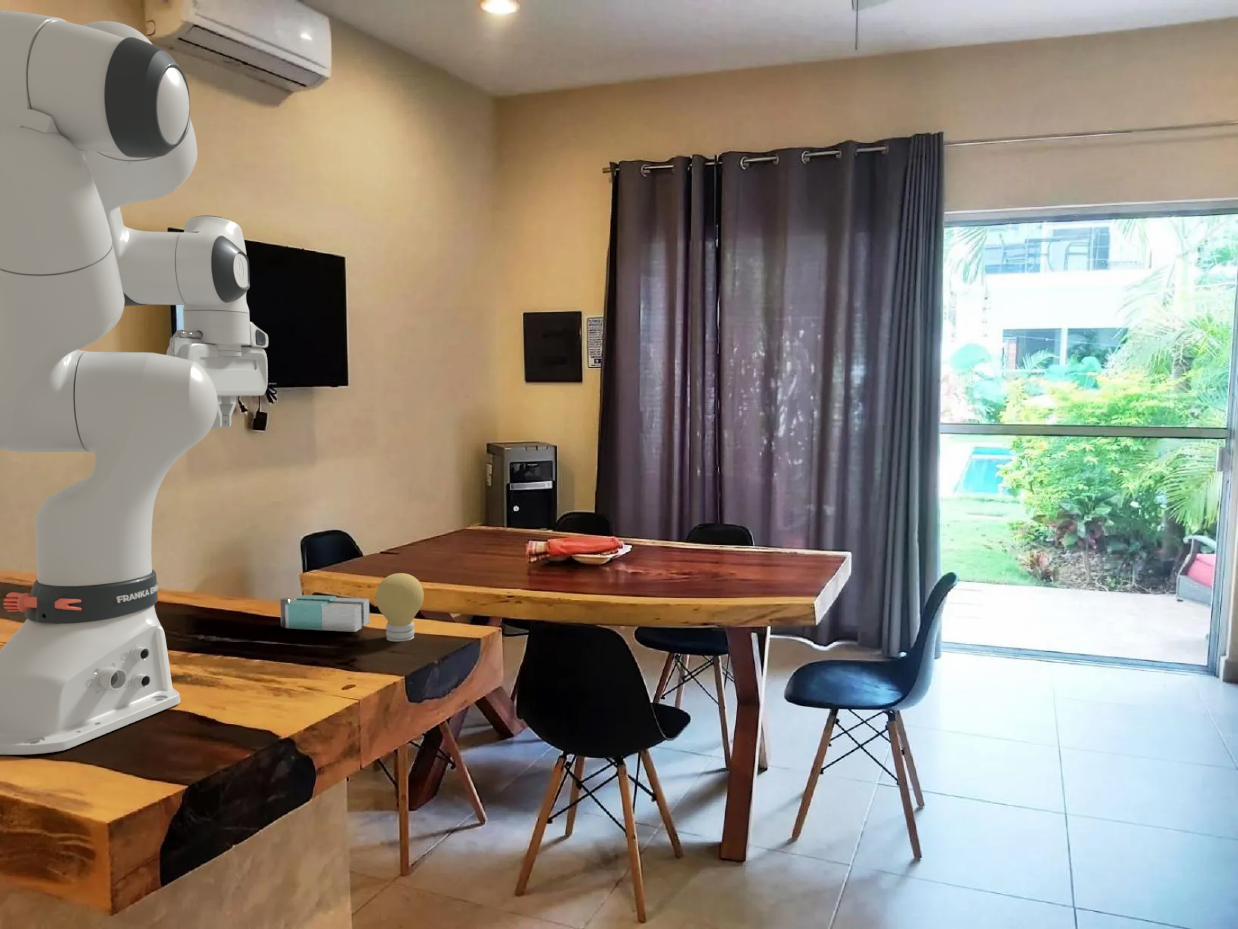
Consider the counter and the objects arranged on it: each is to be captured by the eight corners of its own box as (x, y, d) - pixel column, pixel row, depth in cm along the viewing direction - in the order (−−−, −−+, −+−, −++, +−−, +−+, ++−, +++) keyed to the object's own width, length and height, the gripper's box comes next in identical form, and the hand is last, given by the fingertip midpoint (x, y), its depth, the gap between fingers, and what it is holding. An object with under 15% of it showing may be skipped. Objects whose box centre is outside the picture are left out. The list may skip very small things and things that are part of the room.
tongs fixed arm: (355, 632, 126) (354, 604, 126) (277, 628, 128) (276, 600, 127) (361, 628, 128) (361, 601, 128) (285, 624, 130) (284, 597, 130)
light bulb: (375, 653, 120) (373, 579, 119) (377, 640, 126) (376, 569, 125) (424, 651, 121) (423, 577, 120) (424, 637, 127) (423, 568, 126)
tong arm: (363, 626, 129) (363, 600, 128) (293, 623, 130) (293, 598, 130) (369, 622, 131) (369, 597, 131) (300, 619, 132) (300, 594, 132)
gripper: (192, 328, 120) (195, 431, 121) (274, 336, 140) (276, 425, 141) (149, 328, 121) (153, 431, 122) (237, 336, 141) (239, 424, 142)
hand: (220, 428), depth 132 cm, fingers closed
